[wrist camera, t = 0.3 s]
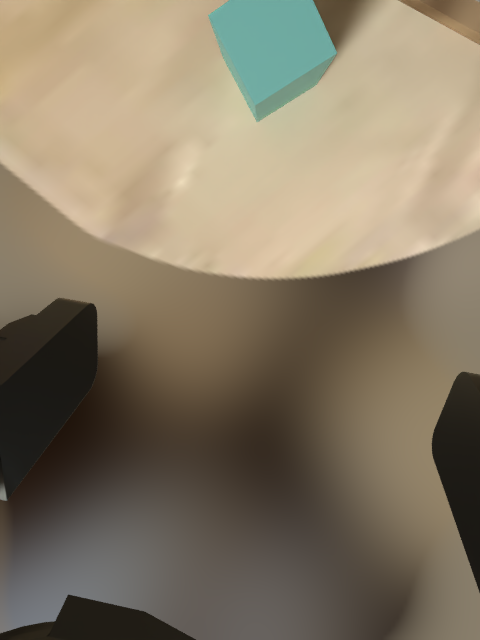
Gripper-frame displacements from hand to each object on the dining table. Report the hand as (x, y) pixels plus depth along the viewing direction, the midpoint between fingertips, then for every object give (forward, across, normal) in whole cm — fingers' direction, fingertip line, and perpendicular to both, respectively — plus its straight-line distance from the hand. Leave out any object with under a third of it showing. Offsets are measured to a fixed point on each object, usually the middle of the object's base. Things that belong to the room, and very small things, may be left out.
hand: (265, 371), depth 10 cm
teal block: (+29, +3, -7) cm, 30 cm away
